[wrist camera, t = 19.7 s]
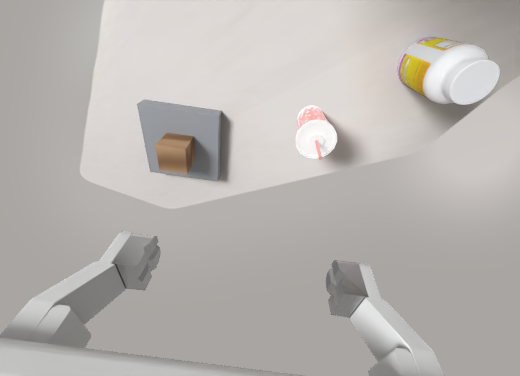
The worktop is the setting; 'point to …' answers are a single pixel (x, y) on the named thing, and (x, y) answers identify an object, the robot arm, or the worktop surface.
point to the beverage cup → (314, 133)
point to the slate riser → (185, 123)
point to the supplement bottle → (448, 71)
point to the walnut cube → (175, 153)
